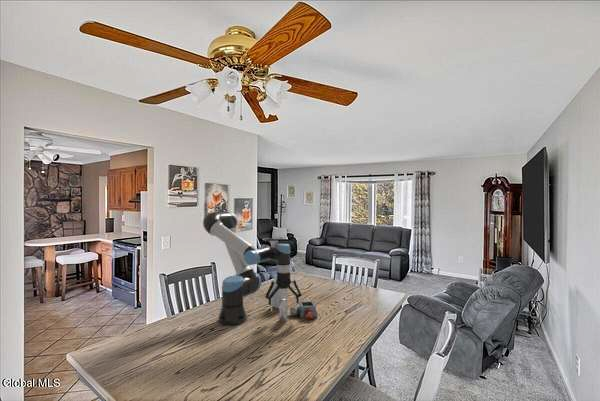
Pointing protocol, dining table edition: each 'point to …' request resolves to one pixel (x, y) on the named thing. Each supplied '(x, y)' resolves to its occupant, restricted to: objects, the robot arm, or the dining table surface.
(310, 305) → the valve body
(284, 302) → the silver rounded cylinder
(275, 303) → the milk carton
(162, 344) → the dining table surface
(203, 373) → the dining table surface
